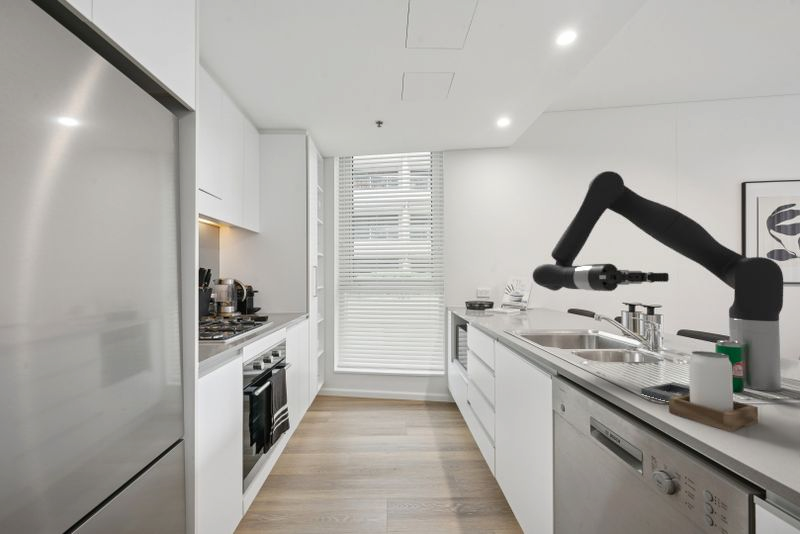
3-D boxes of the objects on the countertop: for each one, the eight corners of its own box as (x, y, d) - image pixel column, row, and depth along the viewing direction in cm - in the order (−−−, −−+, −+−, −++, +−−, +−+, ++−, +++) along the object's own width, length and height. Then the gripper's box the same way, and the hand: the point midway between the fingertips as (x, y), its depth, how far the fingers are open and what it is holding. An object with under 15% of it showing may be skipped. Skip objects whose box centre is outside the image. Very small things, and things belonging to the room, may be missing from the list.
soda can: (737, 394, 85) (736, 343, 85) (711, 388, 90) (710, 340, 90) (748, 391, 87) (747, 342, 87) (722, 385, 92) (721, 339, 92)
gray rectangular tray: (673, 388, 89) (673, 382, 89) (717, 399, 81) (717, 392, 81) (641, 395, 84) (641, 388, 84) (684, 408, 75) (684, 400, 76)
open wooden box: (696, 405, 77) (696, 391, 77) (758, 422, 68) (757, 406, 68) (669, 412, 73) (668, 397, 73) (730, 431, 64) (730, 414, 64)
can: (742, 422, 67) (740, 358, 67) (702, 419, 68) (701, 356, 68) (719, 410, 73) (717, 351, 73) (683, 407, 74) (682, 350, 75)
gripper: (577, 263, 98) (638, 260, 83) (612, 264, 103) (674, 262, 89) (578, 290, 97) (639, 293, 83) (612, 290, 103) (674, 292, 88)
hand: (657, 277), depth 86 cm, fingers open, 8 cm apart
